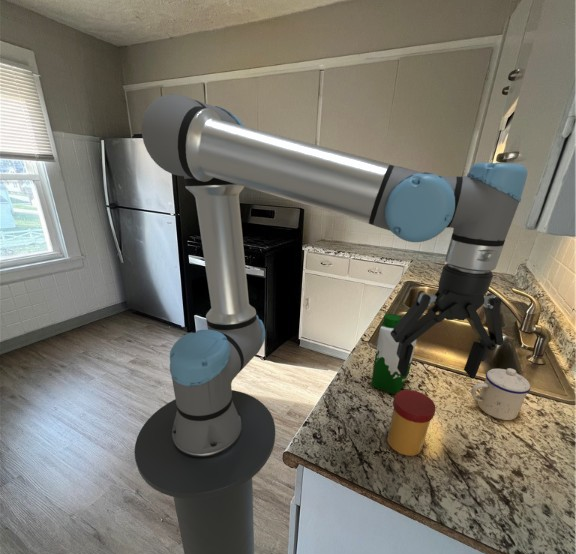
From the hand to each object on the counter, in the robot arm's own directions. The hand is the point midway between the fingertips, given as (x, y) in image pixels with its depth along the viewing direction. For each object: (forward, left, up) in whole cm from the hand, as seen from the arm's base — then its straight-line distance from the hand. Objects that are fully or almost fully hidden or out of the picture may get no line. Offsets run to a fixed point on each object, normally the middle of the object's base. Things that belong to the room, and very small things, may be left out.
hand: (435, 373), depth 61 cm
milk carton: (-8, +18, -18) cm, 27 cm away
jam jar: (-3, -2, -18) cm, 18 cm away
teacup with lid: (+17, +18, -18) cm, 31 cm away
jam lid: (-3, -2, -7) cm, 8 cm away
